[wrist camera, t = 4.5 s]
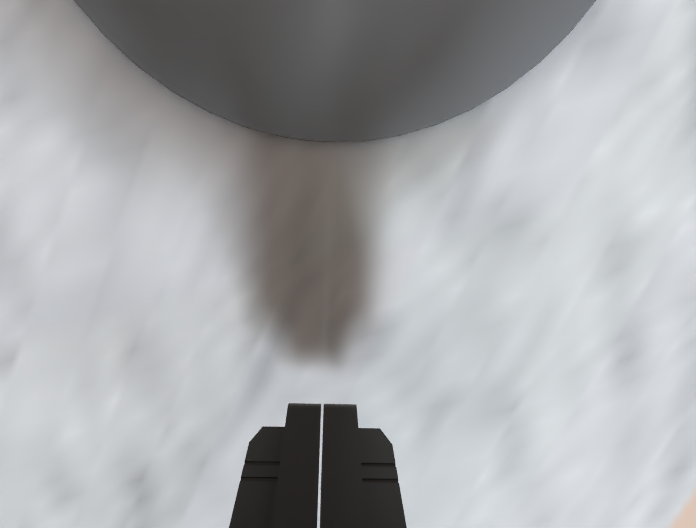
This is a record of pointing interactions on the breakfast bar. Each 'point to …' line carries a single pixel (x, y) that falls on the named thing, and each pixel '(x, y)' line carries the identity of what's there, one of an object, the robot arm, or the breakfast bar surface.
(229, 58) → the disc
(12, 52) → the breakfast bar surface
